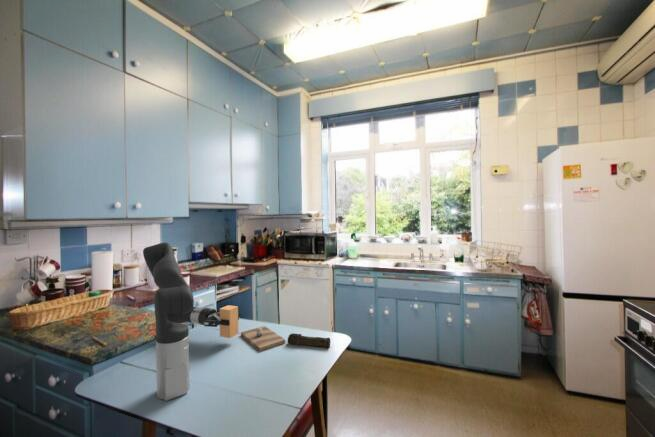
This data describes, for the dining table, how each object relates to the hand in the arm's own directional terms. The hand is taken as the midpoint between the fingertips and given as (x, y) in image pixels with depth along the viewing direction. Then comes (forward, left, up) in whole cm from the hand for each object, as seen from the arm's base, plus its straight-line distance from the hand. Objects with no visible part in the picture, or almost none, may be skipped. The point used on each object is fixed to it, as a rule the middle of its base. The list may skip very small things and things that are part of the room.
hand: (233, 320), depth 123 cm
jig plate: (-3, -12, -10) cm, 16 cm away
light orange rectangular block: (+2, +1, -7) cm, 7 cm away
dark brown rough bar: (-22, -24, -11) cm, 34 cm away
